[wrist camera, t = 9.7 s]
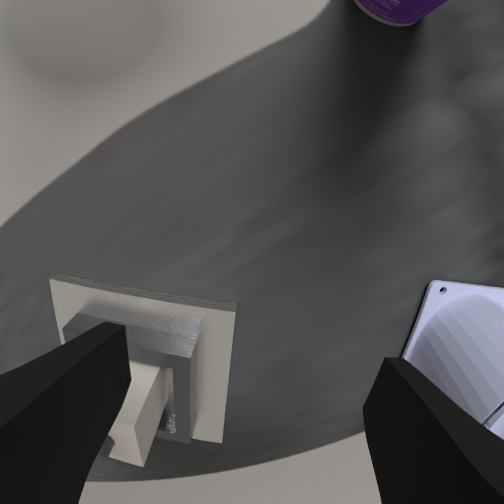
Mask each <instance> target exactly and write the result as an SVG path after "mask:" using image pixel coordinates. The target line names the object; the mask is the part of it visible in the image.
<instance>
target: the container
mask: <svg viewBox="0 0 504 504" xmlns="http://www.w3.org/2000/svg"><path fill="white" fill-rule="evenodd" d="M446 1H447V0H354V2H355V3H356V4H357V5H358V7H359V8H360V9H361V10H362V11H364V12H365V13H366V14H367V15H369V16H370V17H372V18H374V19H375V20H377V21H379V22H382V23H384V24H388V25H392V26H409V25H412V24H414V23H416V22H417V21H419V20H420V19H422V18H423V17H425V16H426V15H427V14H429V13H430V12H432V11H433V10H434V9H436V8H437V7H439V6H440V5H442V4H443V3H445V2H446Z"/></svg>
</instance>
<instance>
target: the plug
mask: <svg viewBox="0 0 504 504" xmlns="http://www.w3.org/2000/svg"><path fill="white" fill-rule="evenodd" d="M129 364H130V371H131V378H132V380H131V383H130V386H129V389H128V392H127V395H126V397H125V400H124V403H123V405H122V408H121V410H120V412H119V414H118V416H117V418H116V420H115V422H114V424H113V426H112V428H111V430H110V431H109V433H108V435H107V437H106V439H105V441H104V443H103V445H102V447H101V449H100V451H99V453H98V455H97V457H96V458H95V459H97V460H100V461H107V459H108V457H111V458H114V459H117V460H121V461H124V462H127V463H131V464H134V465H138V466H142V467H144V464H145V461H146V458H147V456H148V453H149V450H150V447H151V444H152V442H153V439H154V436H155V433H156V431H157V428H158V425H159V422H160V420H161V417H162V414H163V411H164V409H165V406H166V403H167V401H168V392H167V375H166V367H162V366H157V365H152V364H148V363H143V362H139V361H134V360H130V359H129Z"/></svg>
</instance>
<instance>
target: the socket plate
mask: <svg viewBox="0 0 504 504" xmlns="http://www.w3.org/2000/svg"><path fill="white" fill-rule="evenodd" d="M50 285H51V292H52V298H53V304H54V309H55V315H56V320H57V325H58V330H59V334H60V339H61V343H62V345H63V344H65V343H66V342H68V341H70V340H72V339H74V338H75V337H77V336H79V335H81V334H83V333H84V332H86V331H88V330H90V329H92V328H93V327H95V326H97V325H99V324H101V323H103V322H106V321H107V322H112V323H116V324H121V325H125V328H126V338H127V347H128V356H129V359H130V360H134V361H139V362H143V363H148V364H152V365H157V366H162V367H166V375H167V392H168V401H167V403H166V406H165V409H164V411H163V414H162V417H161V420H160V422H159V425H158V428H157V431H156V433H155V436H154V437H159V438H163V439H167V440H172V441H177V442H182V443H187V444H191V442H192V438H193V439H198V440H204V441H210V442H217V443H222V440H223V434H224V424H225V414H226V405H227V395H228V386H229V376H230V367H231V358H232V348H233V339H234V330H235V321H236V312H237V303H229V302H222V301H215V300H208V299H201V298H195V297H188V296H182V295H175V294H169V293H163V292H157V291H151V290H145V289H139V288H134V287H128V286H122V285H117V284H111V283H106V282H101V281H96V280H90V279H85V278H80V277H75V276H70V275H65V274H61V273H57V274H56V275H54V276H53V277H51V278H50Z"/></svg>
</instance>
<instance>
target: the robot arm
mask: <svg viewBox="0 0 504 504" xmlns="http://www.w3.org/2000/svg"><path fill="white" fill-rule="evenodd" d="M442 287H444V289H443V290H442V291H441V292H440V289H441V288H442ZM131 380H132V378H131V371H130V364H129V356H128V347H127V338H126V328H125V325H121V324H116V323H112V322H107V321H106V322H103V323H101V324H99V325H97V326H95V327H93V328H92V329H90V330H88V331H86V332H84V333H83V334H81V335H79V336H77V337H75V338H74V339H72V340H70V341H68V342H66V343H65V344H63V345H61V346H59V347H57V348H56V349H54V350H52V351H50V352H48V353H46V354H44V355H42V356H40V357H38V358H36V359H34V360H32V361H30V362H28V363H26V364H24V365H22V366H20V367H18V368H16V369H14V370H11V371H9V372H7V373H4V374H2V375H0V504H78V503H79V499H80V496H81V493H82V490H83V487H84V484H85V481H86V478H87V476H88V473H89V471H90V469H91V467H92V464H93V462H94V460H95V458H96V457H97V455H98V453H99V451H100V449H101V447H102V445H103V443H104V441H105V439H106V437H107V435H108V433H109V431H110V430H111V428H112V426H113V424H114V422H115V420H116V418H117V416H118V414H119V412H120V410H121V408H122V405H123V403H124V400H125V397H126V395H127V392H128V389H129V386H130V383H131ZM363 416H364V425H365V433H366V439H367V443H368V447H369V451H370V455H371V459H372V464H373V467H374V472H375V476H376V480H377V484H378V487H379V492H380V497H381V502H382V504H504V288H498V287H490V286H482V285H473V284H465V283H457V282H449V281H441V280H434V281H432V282H431V283H430V284H429V286H428V288H427V291H426V294H425V297H424V300H423V303H422V306H421V309H420V311H419V314H418V317H417V320H416V322H415V325H414V328H413V330H412V333H411V335H410V338H409V340H408V343H407V345H406V348H405V350H404V353H403V355H402V357H401V358H387V357H385V358H384V361H383V363H382V365H381V368H380V370H379V373H378V375H377V377H376V380H375V382H374V384H373V386H372V389H371V391H370V393H369V395H368V397H367V400H366V402H365V404H364V406H363Z"/></svg>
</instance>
